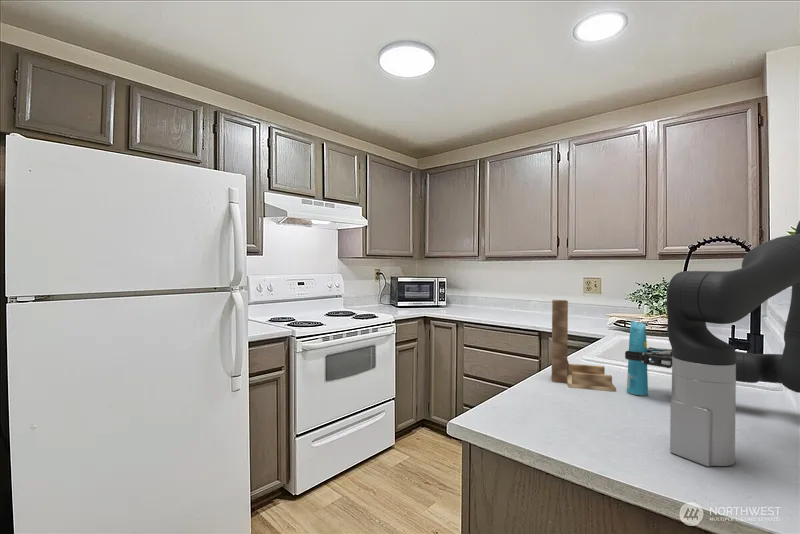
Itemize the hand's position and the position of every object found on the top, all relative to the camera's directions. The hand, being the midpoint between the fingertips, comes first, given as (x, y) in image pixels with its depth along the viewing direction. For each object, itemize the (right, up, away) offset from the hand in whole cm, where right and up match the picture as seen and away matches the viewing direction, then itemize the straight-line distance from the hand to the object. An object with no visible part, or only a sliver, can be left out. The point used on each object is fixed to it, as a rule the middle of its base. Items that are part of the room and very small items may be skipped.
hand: (627, 353), depth 109 cm
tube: (+2, -11, -2) cm, 11 cm away
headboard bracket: (-9, -10, +8) cm, 16 cm away
